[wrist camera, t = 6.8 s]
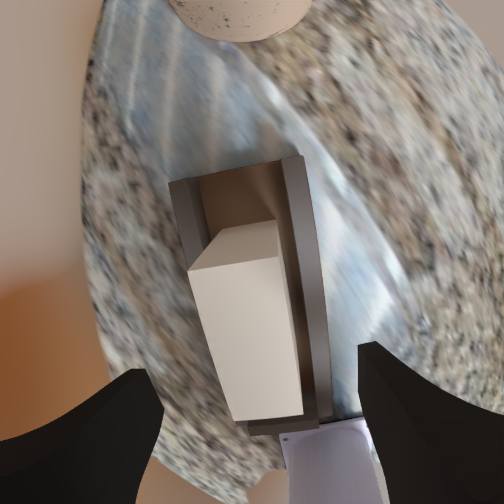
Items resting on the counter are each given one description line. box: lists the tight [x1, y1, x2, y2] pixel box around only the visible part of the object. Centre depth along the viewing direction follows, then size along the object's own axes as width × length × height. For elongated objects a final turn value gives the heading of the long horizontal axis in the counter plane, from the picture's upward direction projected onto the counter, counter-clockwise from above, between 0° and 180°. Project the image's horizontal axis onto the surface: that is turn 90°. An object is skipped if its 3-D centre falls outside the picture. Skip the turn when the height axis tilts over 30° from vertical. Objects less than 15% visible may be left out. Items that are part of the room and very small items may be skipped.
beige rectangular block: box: [187, 219, 303, 421], centre depth 14 cm, size 3×7×7 cm, turn 11°
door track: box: [168, 155, 333, 436], centre depth 17 cm, size 16×7×4 cm, turn 11°
